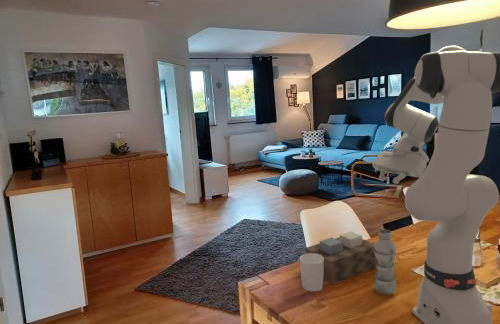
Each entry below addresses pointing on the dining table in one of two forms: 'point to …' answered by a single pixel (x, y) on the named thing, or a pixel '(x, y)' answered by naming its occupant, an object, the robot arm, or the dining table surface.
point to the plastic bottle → (385, 263)
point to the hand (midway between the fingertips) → (387, 181)
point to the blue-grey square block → (331, 246)
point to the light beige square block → (351, 239)
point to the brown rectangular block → (346, 261)
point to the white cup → (312, 271)
